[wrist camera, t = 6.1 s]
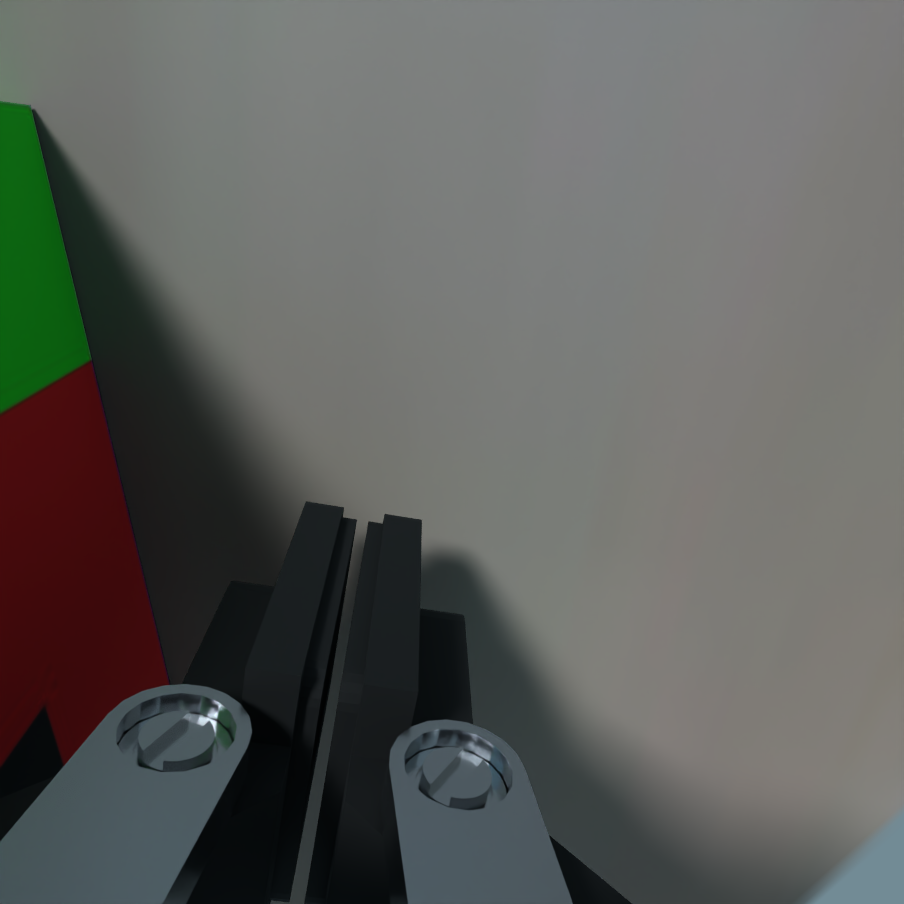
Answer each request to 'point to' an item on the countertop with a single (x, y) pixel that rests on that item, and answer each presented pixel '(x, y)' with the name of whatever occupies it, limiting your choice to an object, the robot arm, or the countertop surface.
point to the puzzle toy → (57, 498)
